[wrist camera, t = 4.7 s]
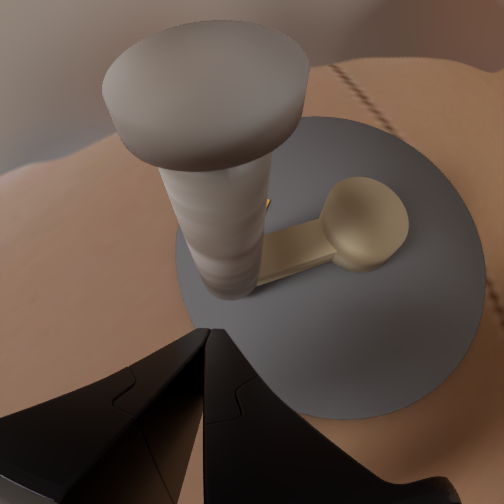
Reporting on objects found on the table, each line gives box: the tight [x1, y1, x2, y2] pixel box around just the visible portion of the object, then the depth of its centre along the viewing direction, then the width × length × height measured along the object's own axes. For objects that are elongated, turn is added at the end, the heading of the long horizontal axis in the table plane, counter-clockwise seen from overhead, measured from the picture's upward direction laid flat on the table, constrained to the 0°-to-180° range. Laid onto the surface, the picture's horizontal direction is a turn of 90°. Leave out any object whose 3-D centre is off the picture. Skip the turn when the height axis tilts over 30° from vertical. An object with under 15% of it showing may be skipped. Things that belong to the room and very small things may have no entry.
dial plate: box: [175, 116, 486, 420], centre depth 19 cm, size 22×22×1 cm
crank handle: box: [102, 20, 409, 301], centre depth 12 cm, size 13×5×13 cm, turn 109°
